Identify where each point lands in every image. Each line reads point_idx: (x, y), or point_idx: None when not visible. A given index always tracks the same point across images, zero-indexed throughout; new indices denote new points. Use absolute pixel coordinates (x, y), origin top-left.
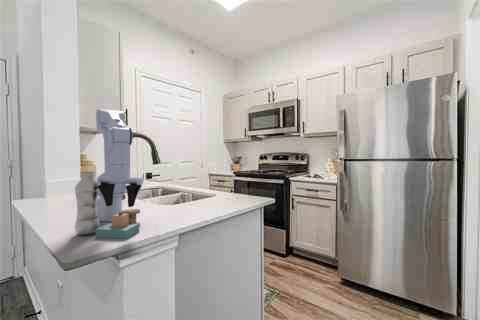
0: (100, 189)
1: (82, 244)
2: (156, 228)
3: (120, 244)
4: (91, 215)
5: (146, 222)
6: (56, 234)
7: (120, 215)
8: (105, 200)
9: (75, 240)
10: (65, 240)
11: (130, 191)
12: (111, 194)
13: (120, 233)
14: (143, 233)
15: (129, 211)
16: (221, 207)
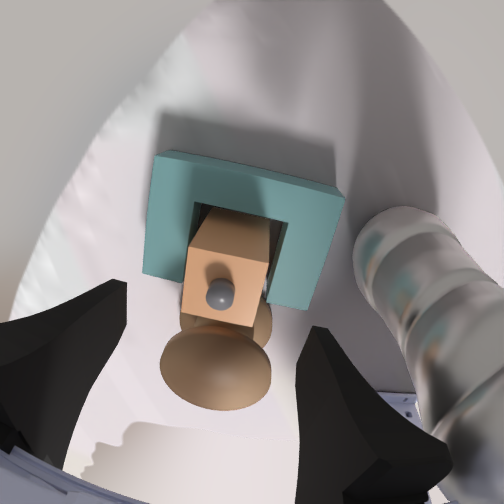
0: (412, 432)
1: (352, 95)
2: (98, 283)
3: (165, 77)
4: (404, 262)
5: None
6: (496, 253)
7: (212, 269)
8: (339, 355)
9: (409, 158)
10: (447, 168)
11: (5, 329)
12: (307, 433)
13: (192, 158)
14: (121, 220)
15: (212, 368)
16: None
